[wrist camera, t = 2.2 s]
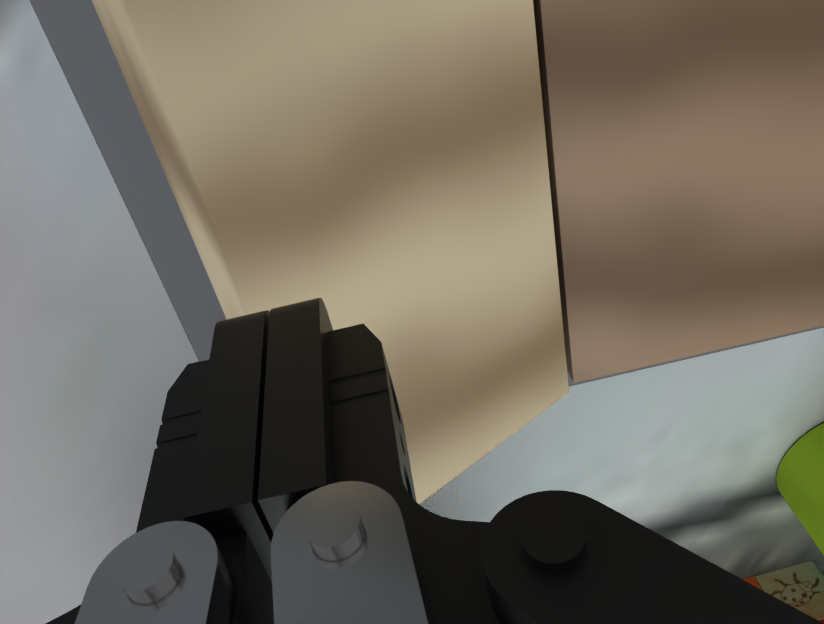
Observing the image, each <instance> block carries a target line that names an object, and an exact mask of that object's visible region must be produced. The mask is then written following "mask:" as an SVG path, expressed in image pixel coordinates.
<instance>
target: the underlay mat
mask: <svg viewBox="0 0 824 624" xmlns="http://www.w3.org/2000/svg"><path fill="white" fill-rule="evenodd" d="M30 2H31V4H32V6H33V9H34V11H35V13H36V15H37V17H38V19H39V21H40V23H41V26H42V28H43V30H44V32H45V34H46V36H47V38H48V40H49V43H50V45H51V47H52V49H53V51H54V53H55V55H56V58H57V60H58V62H59V64H60V66H61V68H62V70H63V72H64V75H65V77H66V79H67V81H68V83H69V85H70V87H71V89H72V92H73V94H74V96H75V98H76V100H77V102H78V104H79V107H80V109H81V111H82V113H83V115H84V117H85V119H86V121H87V124H88V126H89V128H90V130H91V132H92V134H93V136H94V138H95V141H96V143H97V145H98V147H99V149H100V151H101V153H102V156H103V158H104V160H105V162H106V164H107V166H108V168H109V170H110V173H111V175H112V177H113V179H114V181H115V183H116V185H117V187H118V190H119V192H120V194H121V196H122V198H123V200H124V202H125V205H126V207H127V209H128V211H129V213H130V215H131V217H132V219H133V222H134V224H135V226H136V228H137V230H138V232H139V234H140V236H141V239H142V241H143V243H144V245H145V247H146V249H147V251H148V254H149V256H150V258H151V260H152V262H153V264H154V266H155V268H156V271H157V273H158V275H159V277H160V279H161V281H162V283H163V285H164V288H165V290H166V292H167V294H168V296H169V298H170V300H171V303H172V305H173V307H174V309H175V311H176V313H177V315H178V317H179V320H180V322H181V324H182V326H183V328H184V330H185V332H186V334H187V337H188V339H189V341H190V343H191V345H192V347H193V349H194V352H195V354H196V356H197V358H198V360H199V362H200V361H205V360H209V359H210V352H211V346H212V340H213V334H214V328H215V325H216V323H217V322H218V321H223V320H227V319H226V317H225V314H224V312H223V310H222V307H221V305H220V302H219V300H218V298H217V295H216V293H215V291H214V288H213V286H212V284H211V281H210V279H209V276H208V274H207V272H206V269H205V267H204V265H203V262H202V260H201V258H200V255H199V253H198V250H197V248H196V246H195V243H194V241H193V239H192V236H191V234H190V232H189V229H188V227H187V224H186V222H185V220H184V217H183V215H182V213H181V210H180V208H179V206H178V203H177V201H176V198H175V196H174V194H173V191H172V189H171V187H170V184H169V182H168V180H167V177H166V175H165V172H164V170H163V168H162V165H161V163H160V161H159V158H158V156H157V153H156V151H155V149H154V146H153V144H152V142H151V139H150V137H149V135H148V132H147V130H146V127H145V125H144V123H143V120H142V118H141V116H140V113H139V111H138V109H137V106H136V104H135V101H134V99H133V97H132V94H131V92H130V90H129V87H128V85H127V83H126V80H125V78H124V75H123V73H122V71H121V68H120V66H119V64H118V61H117V59H116V57H115V54H114V52H113V49H112V47H111V45H110V42H109V40H108V38H107V35H106V33H105V31H104V28H103V26H102V23H101V21H100V19H99V16H98V14H97V12H96V9H95V7H94V5H93V2H92V0H30ZM823 327H824V325H823V326H818V327H814V328H810V329H805V330H801V331H797V332H793V333H788V334H784V335H780V336H775V337H771V338H767V339H762V340H758V341H754V342H749V343H745V344H741V345H736V346H732V347H728V348H723V349H719V350H715V351H710V352H706V353H702V354H698V355H693V356H689V357H685V358H680V359H676V360H672V361H667V362H663V363H659V364H654V365H650V366H646V367H641V368H637V369H633V370H628V371H624V372H620V373H615V374H611V375H607V376H603V377H598V378H594V379H590V380H585V381H581V382H577V383H573V381H572V379H571V377H570V375H569V372H568V370H567V375H568V386H573V385H577V384H581V383H586V382H590V381H594V380H598V379H603V378H607V377H611V376H616V375H620V374H624V373H629V372H633V371H637V370H642V369H646V368H650V367H655V366H659V365H663V364H668V363H672V362H676V361H681V360H685V359H689V358H694V357H698V356H702V355H706V354H711V353H715V352H719V351H724V350H728V349H732V348H737V347H741V346H745V345H750V344H754V343H758V342H763V341H767V340H771V339H776V338H780V337H784V336H789V335H793V334H797V333H802V332H806V331H810V330H814V329H819V328H823Z"/></svg>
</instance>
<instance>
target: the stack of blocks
mask: <svg viewBox="0 0 824 624" xmlns="http://www.w3.org/2000/svg"><path fill="white" fill-rule="evenodd" d="M742 580H744V581H746V582H748V583H750V584H751V585H753V586H755V587H757V588H759V589H761V590H763V591H764V592H766V593H768V594H770V595H772V596H774V597H776V598H777V599H779V600H781V601H783V602H785V603H787V604H788V605H790V606H792V607H794V608H796V609H798V610H800V611H801V612H803V613H805V614H807V615H809V616H811V617H813V618H814V619H816V620H818V621H820V622H822V623H824V576H823V575H822V573H821V572H820V571H819V569H818V568H817V566H816V565H815V564H814V562H813V561H808V562H804V563H801V564H797V565H794V566H790V567H787V568H783V569H779V570H776V571H772V572H769V573H765V574H762V575H758V576H755V577H754V576H753V577H748V578H744V579H742Z"/></svg>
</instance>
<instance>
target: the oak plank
mask: <svg viewBox="0 0 824 624" xmlns="http://www.w3.org/2000/svg"><path fill="white" fill-rule="evenodd" d="M92 2H93V5H94V7H95V9H96V12H97V14H98V16H99V19H100V21H101V23H102V26H103V28H104V31H105V33H106V35H107V38H108V40H109V42H110V45H111V47H112V49H113V52H114V54H115V57H116V59H117V61H118V64H119V66H120V68H121V71H122V73H123V75H124V78H125V80H126V83H127V85H128V87H129V90H130V92H131V94H132V97H133V99H134V101H135V104H136V106H137V109H138V111H139V113H140V116H141V118H142V120H143V123H144V125H145V127H146V130H147V132H148V135H149V137H150V139H151V142H152V144H153V146H154V149H155V151H156V153H157V156H158V158H159V161H160V163H161V165H162V168H163V170H164V172H165V175H166V177H167V180H168V182H169V184H170V187H171V189H172V191H173V194H174V196H175V198H176V201H177V203H178V206H179V208H180V210H181V213H182V215H183V217H184V220H185V222H186V224H187V227H188V229H189V232H190V234H191V236H192V239H193V241H194V243H195V246H196V248H197V250H198V253H199V255H200V258H201V260H202V262H203V265H204V267H205V269H206V272H207V274H208V276H209V279H210V281H211V284H212V286H213V288H214V291H215V293H216V295H217V298H218V300H219V302H220V305H221V307H222V310H223V312H224V314H225V317H226V319H231V318H235V317H240V316H244V315H248V314H253V313H257V312H261V311H265V310H268V311H270V310H271V309H273V308H278V307H282V306H286V305H290V304H295V303H299V302H303V301H308V300H312V299H316V298H322V300H323V302H324V304H325V307H326V309H327V312H328V315H329V319H330V322H331V325H332V328H333V330H337V329H342V328H346V327H350V326H354V325H359V324H363V323H364V325H365V326H366V327H367V328H368V329H369V330H370V331H371V332H372V333H373V334H374V335H375V336H376V337H377V338H378V339H379V340H380V341H381V343H382V346H383V350H384V354H385V357H386V361H387V365H388V368H389V372H390V375H391V379H392V383H393V386H394V390H395V394H396V397H397V401H398V404H399V408H400V412H401V415H402V419H403V424H404V430H405V436H406V442H407V450H408V454H409V460H410V466H411V473H412V478H413V484H414V490H415V496H416V502H417V503H418V504H420V503H421V502H423V501H424V500H425V499H427V498H428V497H429V496H431V495H432V494H433V493H435V492H436V491H437V490H439V489H440V488H441V487H443V486H444V485H445V484H447V483H448V482H449V481H451V480H452V479H453V478H455V477H456V476H457V475H459V474H460V473H461V472H463V471H464V470H465V469H467V468H468V467H469V466H471V465H472V464H473V463H475V462H476V461H477V460H479V459H480V458H481V457H483V456H484V455H485V454H487V453H488V452H489V451H491V450H492V449H493V448H495V447H496V446H497V445H499V444H500V443H501V442H503V441H504V440H505V439H507V438H508V437H509V436H511V435H512V434H513V433H515V432H516V431H517V430H519V429H520V428H521V427H523V426H524V425H525V424H527V423H528V422H529V421H531V420H532V419H533V418H535V417H536V416H537V415H539V414H540V413H541V412H543V411H544V410H545V409H547V408H548V407H549V406H551V405H552V404H553V403H555V402H556V401H557V400H559V399H560V398H561V397H563V396H564V395H565V394H567V393H568V392H569V386H568V375H567V364H566V354H565V343H564V332H563V321H562V310H561V299H560V288H559V278H558V267H557V256H556V245H555V234H554V223H553V213H552V202H551V191H550V180H549V169H548V158H547V147H546V137H545V126H544V115H543V104H542V93H541V82H540V71H539V61H538V50H537V39H536V28H535V17H534V6H533V0H92Z"/></svg>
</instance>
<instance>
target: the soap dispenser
mask: <svg viewBox="0 0 824 624" xmlns="http://www.w3.org/2000/svg"><path fill="white" fill-rule="evenodd" d="M776 482H777V487H778V490H779V491H780V493H781V495H782V496H783V498H784V499H785V500H786V502H787V503H788V505H789V506H790V508H791V509H792V511H793V512H794V513H795V515H796V516H797V518H798V519H799V521H800V522H801V524H802V525H803V527H804V528H805V529H806V531H807V532H808V534H809V535H810V537H811V538H812V540H813V541H814V542H815V544H816V545H817V547H818V548H819V550H820V551H821V553H822V554H823V556H824V423H822V424H820V425H819V426H817V427H815V428H814V429H812V430H811V431H809V432H808V433H806V434H805V435H804V436H803V437H801V438H800V439H799V440H798V441H797V442H796V443H795V444H794V445H793V446H792V447H791V448H790V449H789V450H788V452H787V453H786V454H785V456H784V457H783V459H782V461H781V463H780V465H779V467H778V470H777V475H776Z"/></svg>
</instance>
